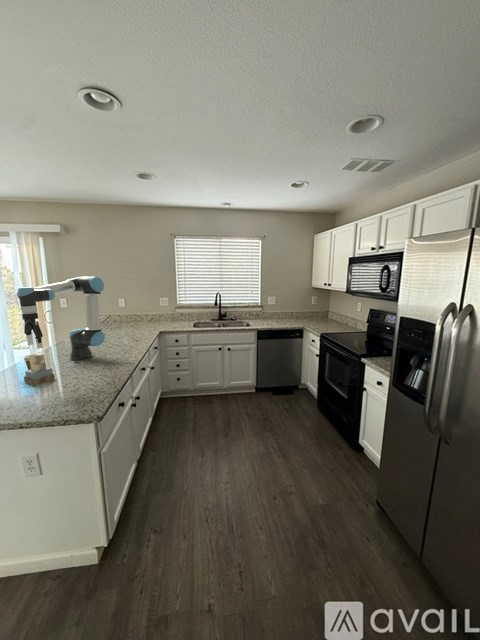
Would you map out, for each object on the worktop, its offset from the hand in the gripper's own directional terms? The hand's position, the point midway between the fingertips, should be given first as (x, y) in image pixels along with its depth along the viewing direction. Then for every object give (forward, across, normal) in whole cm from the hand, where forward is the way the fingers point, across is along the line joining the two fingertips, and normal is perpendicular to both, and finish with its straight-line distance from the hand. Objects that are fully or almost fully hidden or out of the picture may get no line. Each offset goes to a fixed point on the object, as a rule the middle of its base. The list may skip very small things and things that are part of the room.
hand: (35, 346), depth 161 cm
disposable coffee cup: (+23, -19, +4) cm, 30 cm away
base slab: (+23, -1, 0) cm, 23 cm away
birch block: (+15, 0, 0) cm, 15 cm away
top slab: (+19, 0, 0) cm, 19 cm away
